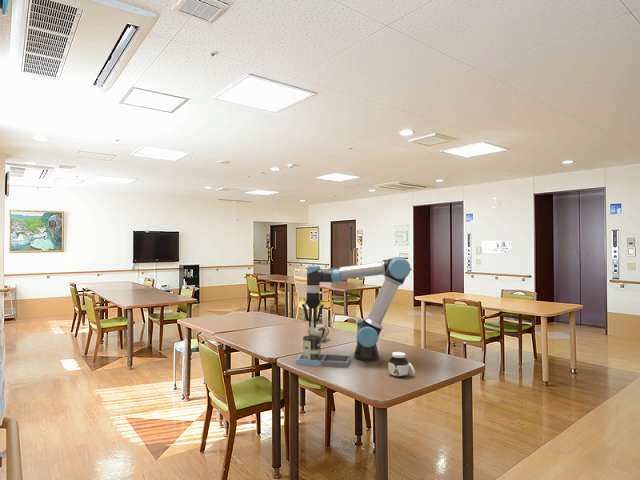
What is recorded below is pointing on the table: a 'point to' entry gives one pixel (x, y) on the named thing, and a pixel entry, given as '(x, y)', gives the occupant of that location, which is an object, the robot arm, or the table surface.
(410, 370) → the spread jar
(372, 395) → the table surface
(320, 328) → the sugar bowl
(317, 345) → the coffee can
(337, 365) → the bay tray
